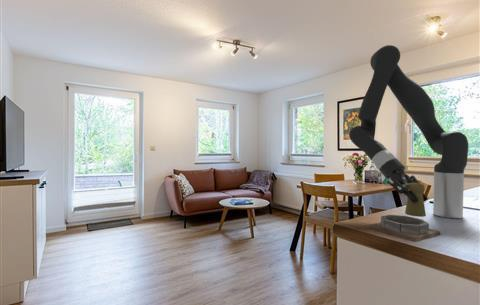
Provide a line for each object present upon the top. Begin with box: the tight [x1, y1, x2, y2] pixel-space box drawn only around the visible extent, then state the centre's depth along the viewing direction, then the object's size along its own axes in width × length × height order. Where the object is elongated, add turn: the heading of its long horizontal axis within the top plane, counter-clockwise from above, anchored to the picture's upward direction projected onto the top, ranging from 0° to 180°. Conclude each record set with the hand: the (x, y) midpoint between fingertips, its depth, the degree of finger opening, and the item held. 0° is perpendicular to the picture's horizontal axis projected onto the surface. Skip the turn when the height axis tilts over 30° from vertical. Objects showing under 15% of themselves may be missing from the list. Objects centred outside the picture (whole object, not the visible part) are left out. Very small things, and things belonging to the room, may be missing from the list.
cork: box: [404, 182, 427, 218], centre depth 90 cm, size 6×6×11 cm
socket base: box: [368, 214, 441, 242], centre depth 82 cm, size 14×14×4 cm
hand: (421, 201), depth 89 cm, fingers closed on cork, 5 cm apart
